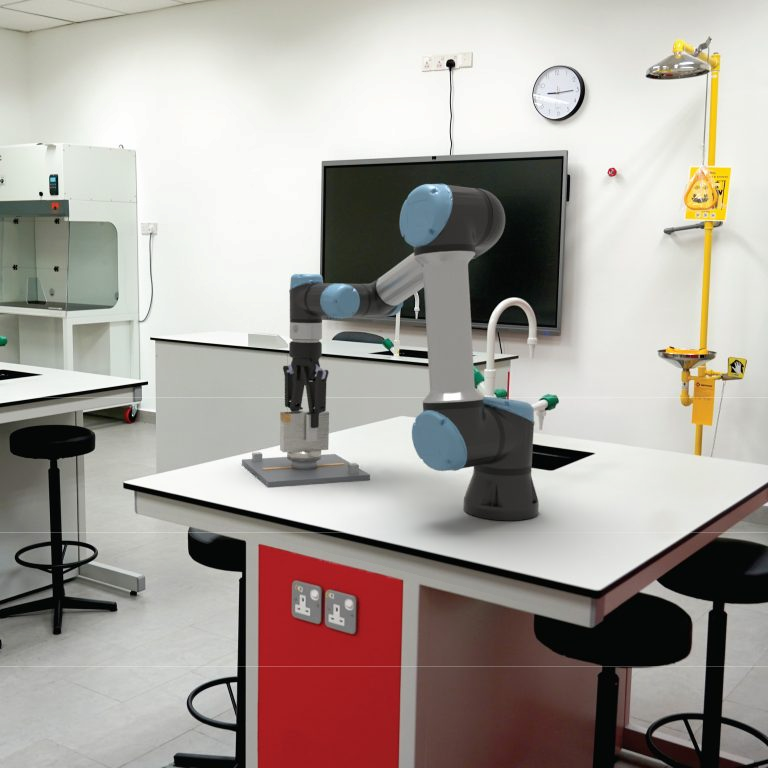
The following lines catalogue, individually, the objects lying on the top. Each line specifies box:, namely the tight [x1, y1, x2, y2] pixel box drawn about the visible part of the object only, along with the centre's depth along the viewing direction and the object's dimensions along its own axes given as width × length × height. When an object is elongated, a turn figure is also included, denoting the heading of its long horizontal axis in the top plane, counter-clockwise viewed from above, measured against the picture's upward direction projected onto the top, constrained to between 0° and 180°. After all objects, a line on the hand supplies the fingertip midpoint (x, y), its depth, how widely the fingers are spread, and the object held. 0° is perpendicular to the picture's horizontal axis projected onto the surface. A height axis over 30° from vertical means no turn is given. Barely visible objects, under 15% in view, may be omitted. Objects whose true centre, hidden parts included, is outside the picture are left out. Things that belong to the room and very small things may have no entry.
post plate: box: [241, 451, 371, 488], centre depth 214 cm, size 24×24×3 cm
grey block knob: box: [279, 410, 330, 462], centre depth 213 cm, size 11×8×11 cm
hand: (304, 439), depth 213 cm, fingers closed on grey block knob, 4 cm apart
